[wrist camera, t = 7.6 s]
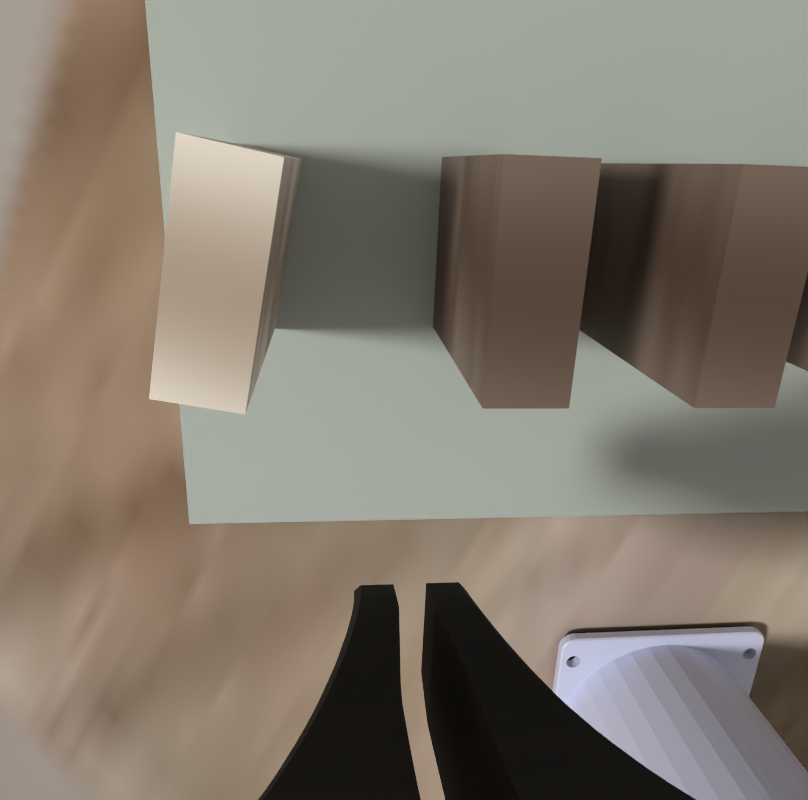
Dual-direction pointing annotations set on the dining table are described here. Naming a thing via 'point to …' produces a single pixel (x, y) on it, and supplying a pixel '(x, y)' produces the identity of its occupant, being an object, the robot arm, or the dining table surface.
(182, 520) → the dining table surface
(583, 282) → the tile
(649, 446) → the mat
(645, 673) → the robot arm
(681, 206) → the tile
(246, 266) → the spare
